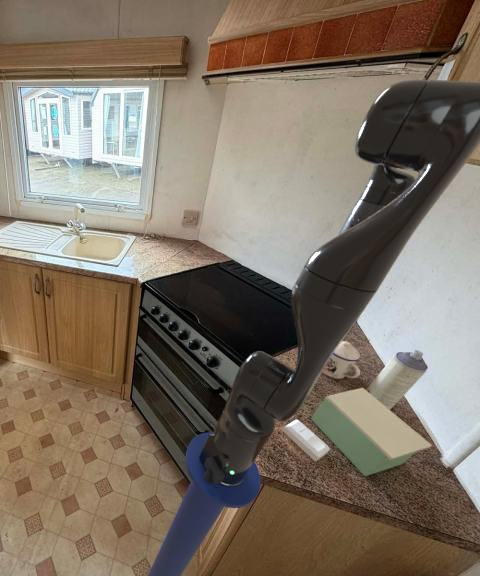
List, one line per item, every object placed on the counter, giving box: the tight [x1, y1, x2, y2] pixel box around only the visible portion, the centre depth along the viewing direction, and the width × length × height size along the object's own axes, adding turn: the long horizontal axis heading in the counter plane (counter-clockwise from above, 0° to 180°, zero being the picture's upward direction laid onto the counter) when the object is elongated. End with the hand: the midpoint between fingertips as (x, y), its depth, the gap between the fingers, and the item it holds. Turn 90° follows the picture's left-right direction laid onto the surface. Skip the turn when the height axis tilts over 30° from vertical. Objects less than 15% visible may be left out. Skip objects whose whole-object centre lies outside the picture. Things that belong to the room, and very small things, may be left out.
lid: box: [325, 387, 433, 460], centre depth 75 cm, size 16×13×1 cm
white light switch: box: [281, 419, 331, 462], centre depth 78 cm, size 5×9×3 cm, turn 27°
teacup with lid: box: [321, 340, 361, 380], centre depth 97 cm, size 12×9×12 cm
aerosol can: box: [365, 349, 429, 411], centre depth 86 cm, size 7×7×20 cm
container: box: [310, 397, 417, 477], centre depth 78 cm, size 16×13×9 cm
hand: (330, 289), depth 76 cm, fingers closed
